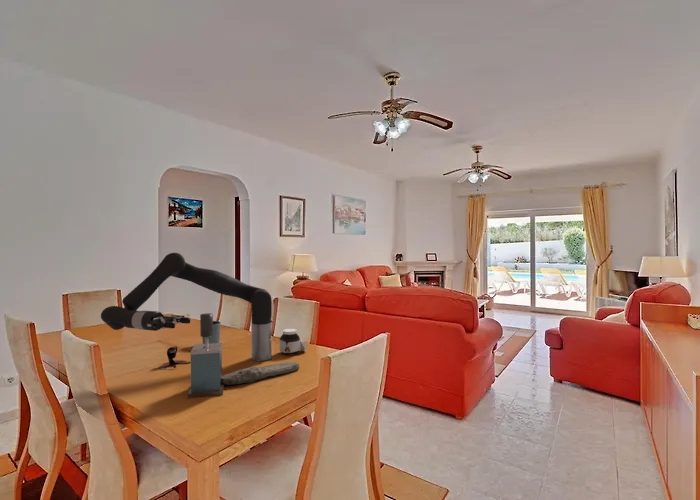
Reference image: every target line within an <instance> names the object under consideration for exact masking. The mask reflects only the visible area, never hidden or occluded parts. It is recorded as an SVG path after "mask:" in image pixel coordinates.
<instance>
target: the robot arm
mask: <svg viewBox="0 0 700 500" xmlns="http://www.w3.org/2000/svg"><path fill="white" fill-rule="evenodd" d="M170 277H174V278H177V279H181V280H184V281H188V282H191V283H192V284H196V285H197V286H201V287H203V288H205V289H207V290H210V291H212V292H215V293H217V294H221V295H224V296H229V297H234V298H238V299H242V300H243V301H246V302H247V303H249V304H251V318H250V319H251V320H250V321H251V322H250V323H251V360H252V361H255V362H263V361H269V360H272V355H273V354H272V315H273V314H272V311H273V310H272V301H273V300H272V295H271V294H270V292H269V291H268V290H266V289H264V288H262V287H257V286H253V285H250V284H247V283H244V282H243V281H240V280H239V279H237V278H235V277H232V276H230V275H228V274H227V273H226V274H225V273H223V272H220V271H217V270H215V269H210V268H202V267H198V266H195V265H192V264H190V263H188V262H186V259H185V258H184V256H183V255H182V254H181V253H179V252H170V253H168V254H166V255H165V256H164V258H163V259H162V260H161V262H160V263H159V264H158V265H157V266H156V267H155V269H153V271H152V272H150V274H149V275H148V276H147V277H145V279H144V280H142V282H140V283H139V284H138V285H137V286H136V287H134V288H133V289H132V290H131V291H130V292H129V293H127V295H126V296H124V297H123V298H122V300H121V302H122V304H123V307H122V306H117V305H111V306H108V307H106V308H104V309H103V310H101V313H100V319H101V320H102V321H103V322H104V323H105V324H106V325H107V326H109V327H110V328H111V329H112V330H114V331H119V330H122V329H124V328H127V329H135V330H137V329H138V330H142V331H153V332H156V331H159V330H161V329H176V325H178V324H186V325H187V324H191V317H185V315H183V314H182V315H178V314H171V315H164V314H163V313H162V312H160V311H157V310H155V311H153V310H138V309H139V308H140V307H141V306H143V305H144V304H145V303H146V302H147V301H148V300H149V299H150V298H151V296H152V295H154V294H155V292H156V291H157V289H159V287H161V285H162V284H163V283H164V282H165V281H166V280H167V279H169V278H170Z"/></svg>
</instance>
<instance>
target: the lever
mask: <svg viewBox="0 0 700 500" xmlns="http://www.w3.org/2000/svg"><path fill="white" fill-rule="evenodd" d="M199 316H200V317H199V318H200V321H199V322H200V326H199V327H200V334H199V335H200V337H201V338H202V337H205V348H209V346H208V337H209V336H212V335H213V321H214V314H213V313H210V312H209V313H208V312H207V313H200V315H199Z"/></svg>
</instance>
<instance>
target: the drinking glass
mask: <svg viewBox="0 0 700 500" xmlns="http://www.w3.org/2000/svg"><path fill="white" fill-rule="evenodd" d="M220 336H221V321H218V320H213V335H212V336H209V337H208V344H212V343H221V342H220V341H221V340H220V339H221V337H220ZM201 339H202V344H205V337H201Z"/></svg>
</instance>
